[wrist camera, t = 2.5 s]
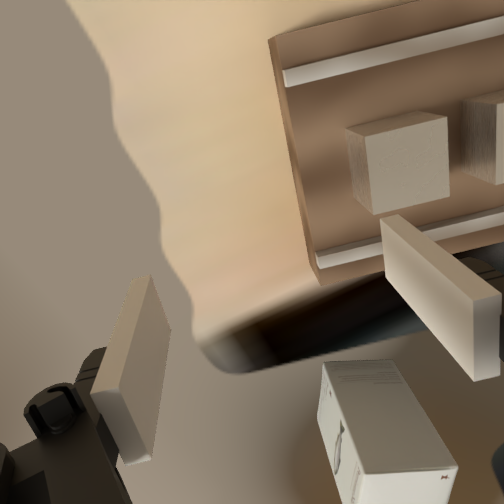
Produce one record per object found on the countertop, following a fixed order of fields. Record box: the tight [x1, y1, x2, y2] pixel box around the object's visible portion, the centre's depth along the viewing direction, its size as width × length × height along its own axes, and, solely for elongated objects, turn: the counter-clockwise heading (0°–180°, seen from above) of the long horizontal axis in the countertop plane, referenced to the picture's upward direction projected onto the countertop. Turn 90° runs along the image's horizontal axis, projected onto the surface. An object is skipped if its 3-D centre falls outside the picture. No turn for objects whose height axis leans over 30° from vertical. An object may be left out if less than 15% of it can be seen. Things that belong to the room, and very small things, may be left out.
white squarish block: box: [345, 111, 450, 215], centre depth 28 cm, size 5×5×4 cm
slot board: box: [268, 0, 504, 286], centre depth 31 cm, size 18×20×5 cm
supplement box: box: [317, 360, 458, 504], centre depth 37 cm, size 7×7×13 cm
